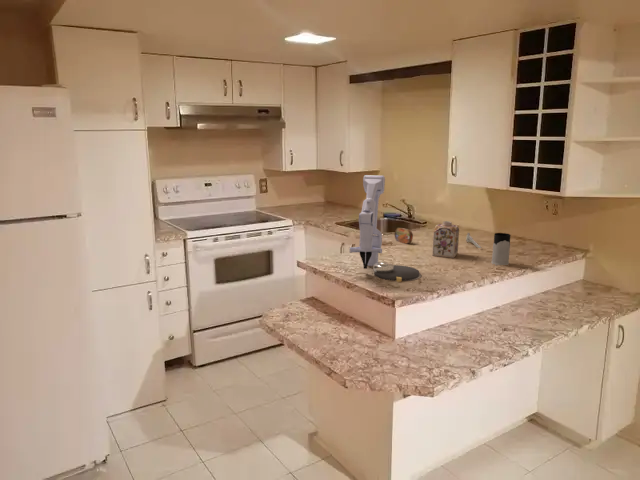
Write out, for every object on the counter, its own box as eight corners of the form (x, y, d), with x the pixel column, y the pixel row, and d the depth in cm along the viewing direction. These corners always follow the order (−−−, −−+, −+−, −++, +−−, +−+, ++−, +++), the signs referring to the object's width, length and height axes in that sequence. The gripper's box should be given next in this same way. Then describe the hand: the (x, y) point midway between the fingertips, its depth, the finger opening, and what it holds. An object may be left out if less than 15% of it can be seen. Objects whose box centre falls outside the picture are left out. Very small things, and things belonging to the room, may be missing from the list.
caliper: (465, 242, 297) (466, 232, 296) (467, 242, 297) (468, 232, 296) (480, 250, 277) (481, 239, 276) (482, 250, 277) (483, 239, 276)
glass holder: (494, 265, 243) (496, 236, 240) (484, 258, 257) (487, 230, 254) (511, 266, 243) (514, 236, 240) (501, 259, 257) (504, 230, 254)
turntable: (373, 267, 233) (373, 264, 233) (416, 268, 232) (416, 265, 231) (375, 281, 211) (375, 277, 211) (422, 282, 210) (423, 279, 210)
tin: (393, 240, 301) (394, 226, 300) (398, 239, 303) (398, 226, 301) (409, 245, 288) (409, 230, 286) (413, 244, 290) (414, 230, 288)
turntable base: (371, 269, 234) (371, 267, 234) (417, 270, 233) (417, 268, 233) (373, 283, 213) (373, 280, 212) (424, 284, 211) (424, 281, 211)
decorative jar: (458, 253, 268) (460, 221, 264) (454, 258, 257) (456, 224, 254) (436, 251, 273) (437, 219, 269) (431, 255, 262) (433, 222, 259)
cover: (372, 267, 227) (373, 260, 226) (392, 268, 227) (392, 260, 226) (373, 273, 218) (374, 265, 218) (394, 273, 218) (394, 265, 217)
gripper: (349, 240, 217) (349, 270, 219) (382, 240, 216) (381, 270, 218) (349, 236, 223) (349, 265, 226) (382, 237, 223) (380, 266, 225)
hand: (365, 268), depth 223 cm, fingers closed
